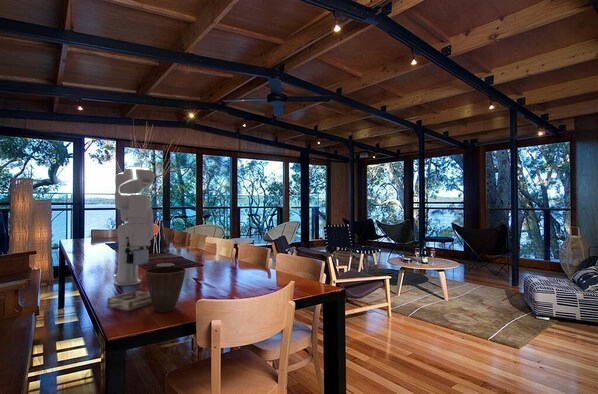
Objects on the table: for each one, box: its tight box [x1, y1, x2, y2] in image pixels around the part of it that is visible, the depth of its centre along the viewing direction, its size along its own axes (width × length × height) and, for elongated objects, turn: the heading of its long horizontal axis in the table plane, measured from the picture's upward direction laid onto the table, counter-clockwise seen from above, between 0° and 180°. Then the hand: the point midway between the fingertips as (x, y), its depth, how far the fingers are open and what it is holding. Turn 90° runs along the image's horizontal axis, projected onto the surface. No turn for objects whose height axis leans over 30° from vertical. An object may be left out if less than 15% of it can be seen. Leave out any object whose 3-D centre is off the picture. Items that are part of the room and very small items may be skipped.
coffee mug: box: [149, 262, 175, 269], centre depth 178 cm, size 12×9×10 cm
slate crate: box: [124, 248, 150, 266], centre depth 149 cm, size 8×6×6 cm
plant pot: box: [145, 266, 186, 313], centre depth 135 cm, size 15×15×16 cm
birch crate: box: [106, 290, 153, 312], centre depth 141 cm, size 12×13×4 cm
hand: (136, 261), depth 149 cm, fingers closed on slate crate, 6 cm apart
